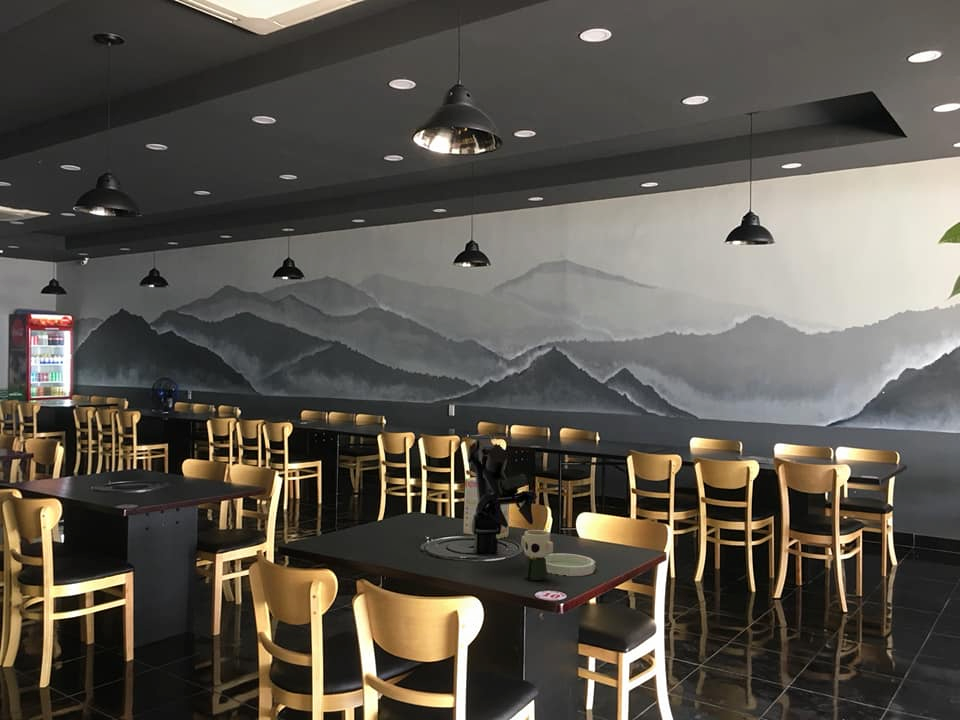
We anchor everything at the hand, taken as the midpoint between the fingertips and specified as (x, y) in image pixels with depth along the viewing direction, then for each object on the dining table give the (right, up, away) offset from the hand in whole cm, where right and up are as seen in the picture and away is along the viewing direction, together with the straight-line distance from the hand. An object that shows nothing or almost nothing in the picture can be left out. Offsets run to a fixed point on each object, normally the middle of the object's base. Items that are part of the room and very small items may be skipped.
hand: (519, 525), depth 217 cm
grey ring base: (+14, -14, +6) cm, 21 cm away
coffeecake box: (-9, -14, +49) cm, 52 cm away
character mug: (+4, -14, -7) cm, 16 cm away
